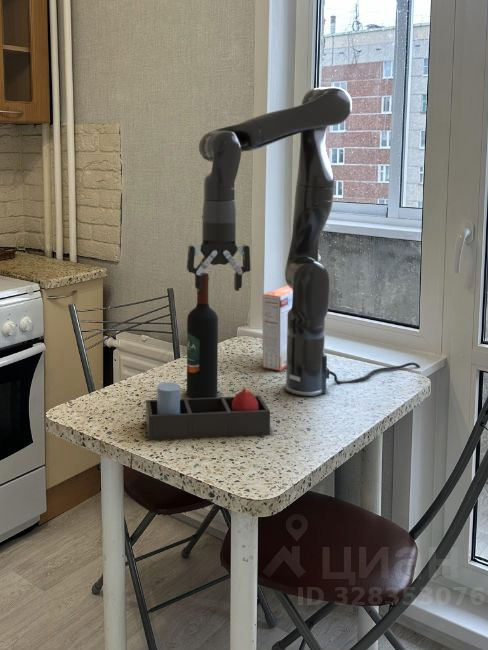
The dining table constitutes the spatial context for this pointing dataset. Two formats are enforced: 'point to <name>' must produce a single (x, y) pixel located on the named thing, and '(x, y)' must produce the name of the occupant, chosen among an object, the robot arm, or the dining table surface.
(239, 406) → the onion
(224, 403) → the holder
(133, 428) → the dining table surface
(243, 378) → the dining table surface
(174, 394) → the light blue cylinder
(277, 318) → the cracker box
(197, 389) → the wine bottle
